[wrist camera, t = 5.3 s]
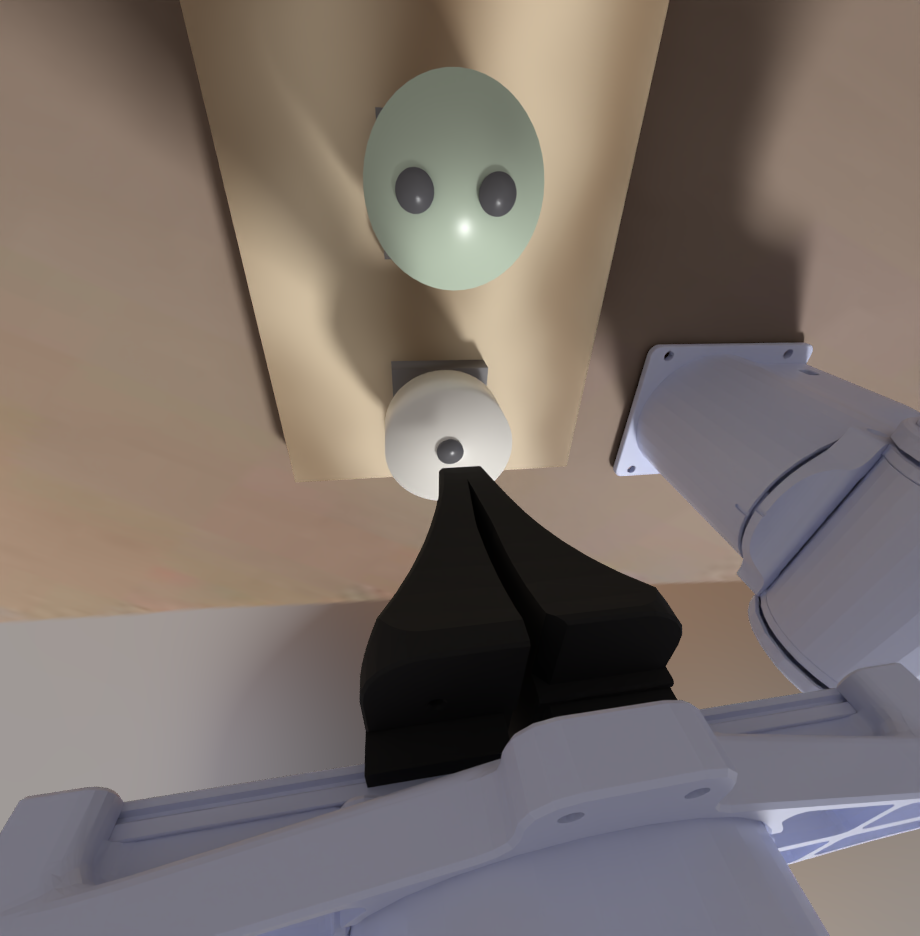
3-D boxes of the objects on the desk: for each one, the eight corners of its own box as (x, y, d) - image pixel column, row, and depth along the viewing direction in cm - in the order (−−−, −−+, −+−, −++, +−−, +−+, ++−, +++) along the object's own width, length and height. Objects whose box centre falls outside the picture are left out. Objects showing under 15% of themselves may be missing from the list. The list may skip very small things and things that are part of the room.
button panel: (714, -384, 10) (821, -569, 8) (553, 447, 23) (573, 477, 21) (76, -562, 8) (-60, -896, 6) (302, 460, 21) (291, 495, 19)
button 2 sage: (533, 91, 11) (560, 74, 10) (514, 279, 14) (532, 292, 12) (357, 77, 11) (352, 55, 9) (373, 277, 13) (371, 291, 12)
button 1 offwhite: (505, 368, 16) (520, 390, 14) (494, 469, 18) (506, 498, 17) (380, 371, 15) (380, 395, 13) (388, 476, 18) (389, 507, 16)
